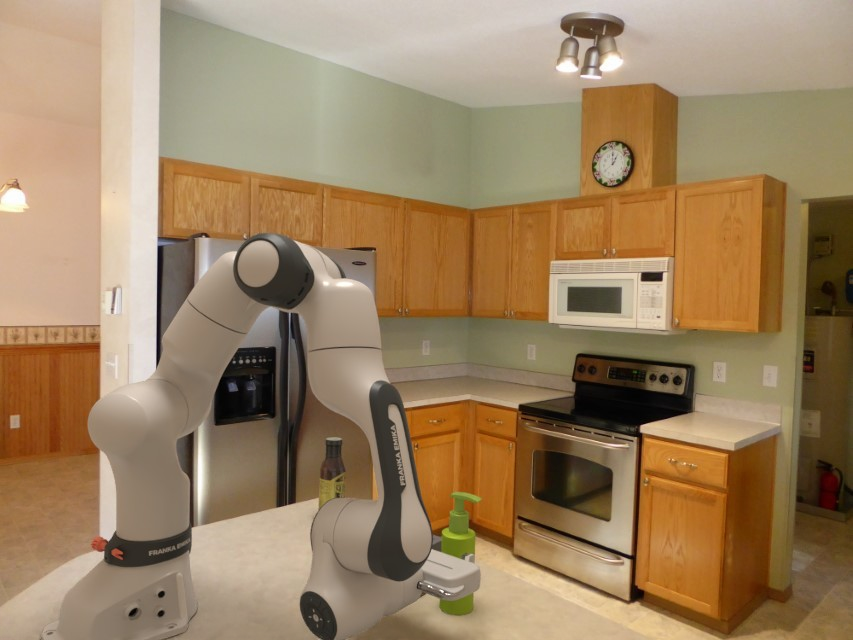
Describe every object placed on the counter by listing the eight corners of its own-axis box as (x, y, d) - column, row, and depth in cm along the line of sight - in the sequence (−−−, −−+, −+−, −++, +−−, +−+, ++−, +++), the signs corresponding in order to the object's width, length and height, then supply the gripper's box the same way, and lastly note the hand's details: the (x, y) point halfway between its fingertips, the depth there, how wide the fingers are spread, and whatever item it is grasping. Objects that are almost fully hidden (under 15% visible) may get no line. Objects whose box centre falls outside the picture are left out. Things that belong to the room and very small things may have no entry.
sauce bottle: (339, 526, 142) (341, 442, 142) (314, 524, 143) (316, 440, 143) (348, 517, 148) (350, 437, 148) (324, 514, 150) (326, 435, 149)
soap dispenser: (468, 620, 101) (472, 502, 100) (433, 608, 105) (436, 494, 104) (484, 606, 106) (487, 493, 105) (450, 595, 110) (453, 486, 109)
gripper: (451, 577, 85) (501, 548, 96) (348, 539, 98) (403, 517, 109) (449, 621, 85) (500, 587, 96) (347, 578, 98) (402, 552, 109)
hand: (448, 550), depth 103 cm, fingers open, 8 cm apart
